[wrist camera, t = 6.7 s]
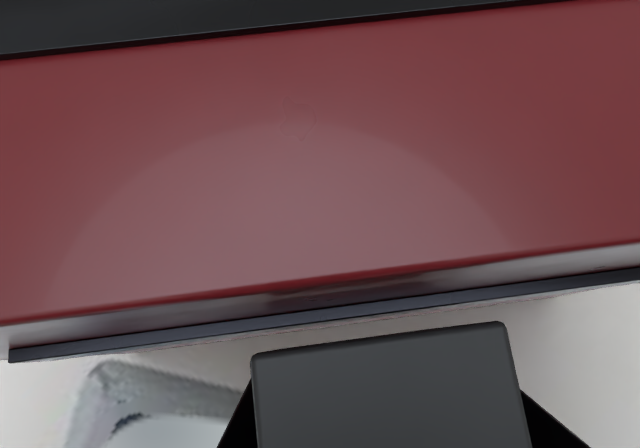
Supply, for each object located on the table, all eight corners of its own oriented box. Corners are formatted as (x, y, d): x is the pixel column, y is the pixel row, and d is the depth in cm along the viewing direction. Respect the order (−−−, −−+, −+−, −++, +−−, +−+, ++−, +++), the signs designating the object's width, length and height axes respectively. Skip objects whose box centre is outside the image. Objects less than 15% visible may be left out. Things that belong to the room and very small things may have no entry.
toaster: (558, 302, 17) (1269, 183, 4) (129, 359, 16) (-499, 413, 4) (501, 71, 19) (866, -458, 7) (121, 113, 19) (-294, -384, 6)
